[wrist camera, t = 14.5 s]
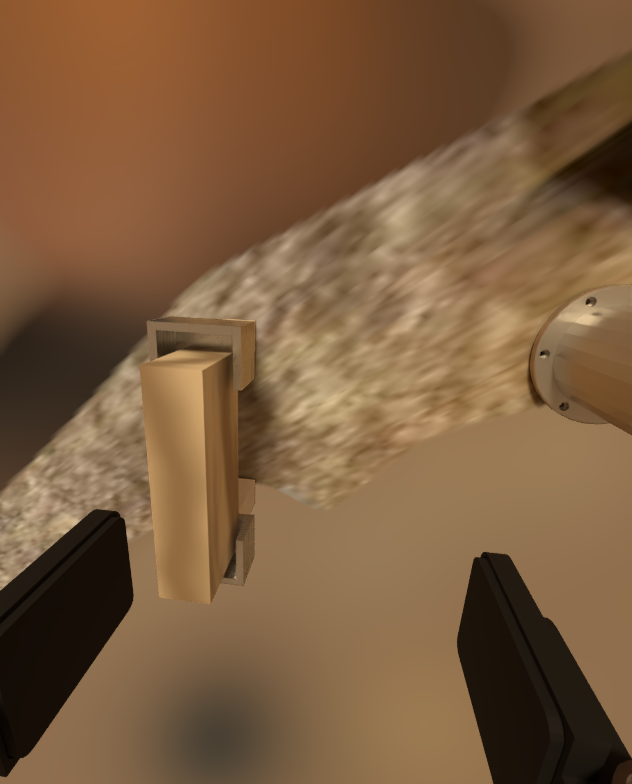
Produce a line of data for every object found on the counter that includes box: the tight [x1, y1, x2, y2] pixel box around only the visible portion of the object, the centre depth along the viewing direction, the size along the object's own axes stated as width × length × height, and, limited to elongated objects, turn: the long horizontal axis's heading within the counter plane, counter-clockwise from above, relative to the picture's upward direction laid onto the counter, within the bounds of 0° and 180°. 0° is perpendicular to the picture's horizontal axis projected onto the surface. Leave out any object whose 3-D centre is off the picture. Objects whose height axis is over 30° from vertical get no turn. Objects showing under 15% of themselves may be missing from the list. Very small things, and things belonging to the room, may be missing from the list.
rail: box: [140, 346, 239, 604], centre depth 29 cm, size 4×18×7 cm, turn 177°
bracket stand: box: [147, 316, 255, 586], centre depth 35 cm, size 7×22×11 cm, turn 177°
